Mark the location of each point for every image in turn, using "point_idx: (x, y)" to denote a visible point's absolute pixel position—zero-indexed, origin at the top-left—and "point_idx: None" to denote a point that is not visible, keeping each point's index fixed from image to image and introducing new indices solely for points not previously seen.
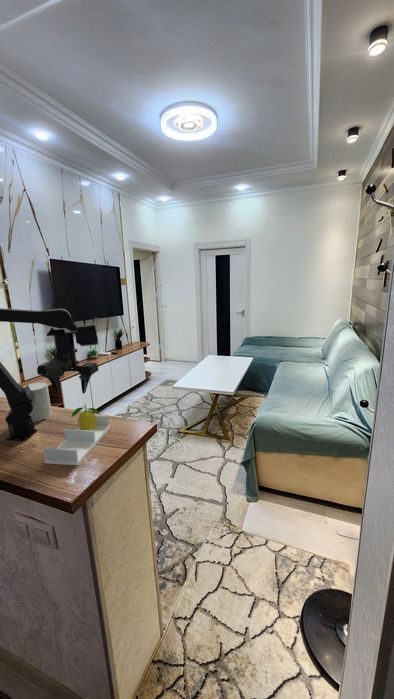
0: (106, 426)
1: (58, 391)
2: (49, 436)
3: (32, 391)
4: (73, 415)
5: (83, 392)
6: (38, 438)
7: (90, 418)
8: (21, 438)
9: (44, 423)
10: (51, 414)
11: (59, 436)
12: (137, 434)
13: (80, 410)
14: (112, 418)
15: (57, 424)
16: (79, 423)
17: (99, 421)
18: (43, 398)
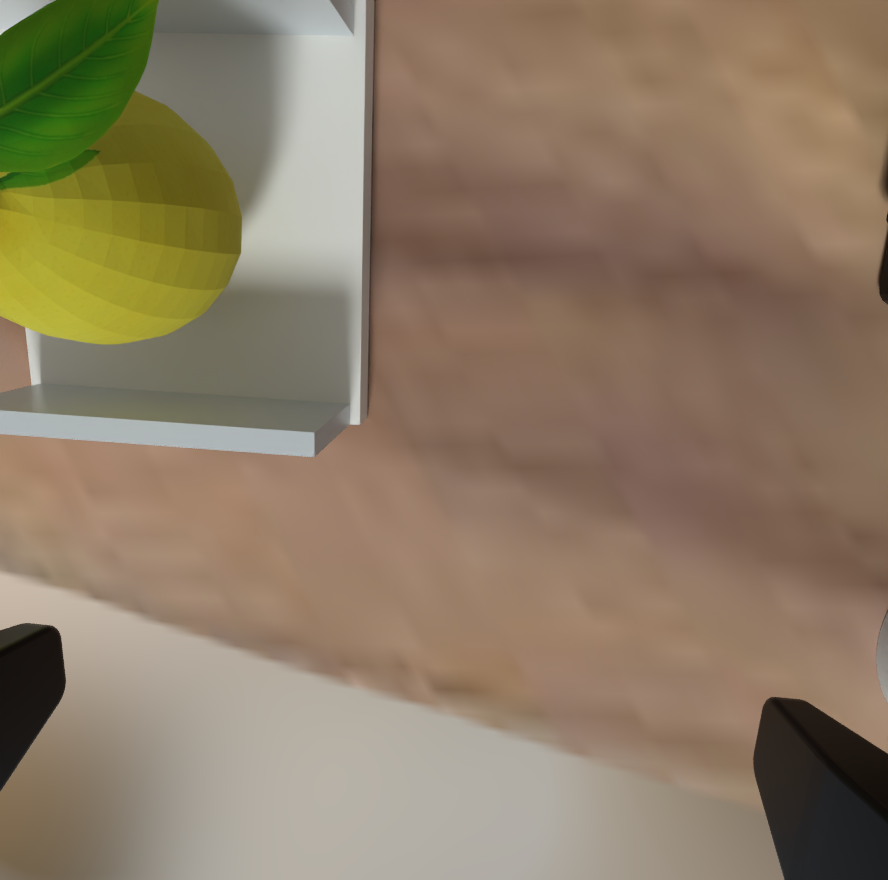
0: (54, 369)
1: (774, 734)
2: (650, 175)
3: None
4: (119, 24)
5: (5, 634)
6: (770, 118)
7: None
8: None
9: (876, 486)
10: (885, 685)
11: (525, 183)
12: None
13: (21, 152)
14: (135, 595)
15: (694, 463)
16: (133, 93)
17: (106, 399)
18: None
